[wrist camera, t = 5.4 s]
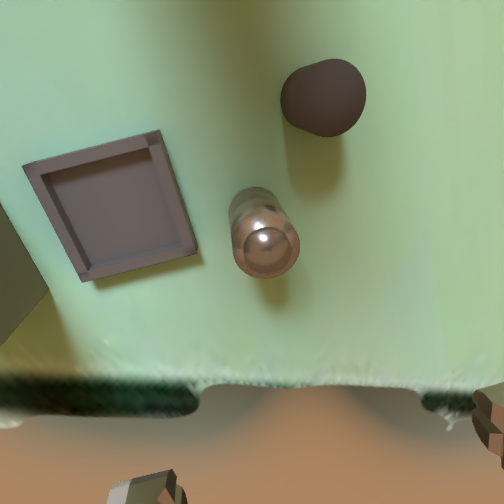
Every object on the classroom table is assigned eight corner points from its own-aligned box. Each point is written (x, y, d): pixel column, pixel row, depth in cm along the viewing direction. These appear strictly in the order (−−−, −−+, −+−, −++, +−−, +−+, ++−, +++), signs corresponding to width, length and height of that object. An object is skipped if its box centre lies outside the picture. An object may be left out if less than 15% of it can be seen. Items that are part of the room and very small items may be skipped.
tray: (159, 129, 24) (155, 131, 22) (197, 245, 27) (196, 253, 26) (32, 161, 24) (21, 165, 22) (88, 273, 28) (82, 282, 26)
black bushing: (333, 59, 23) (362, 50, 18) (340, 121, 25) (369, 127, 20) (275, 74, 23) (289, 69, 18) (286, 135, 25) (302, 144, 20)
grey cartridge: (274, 181, 26) (295, 212, 19) (284, 229, 28) (307, 273, 21) (222, 194, 26) (225, 230, 19) (235, 241, 28) (242, 290, 21)
